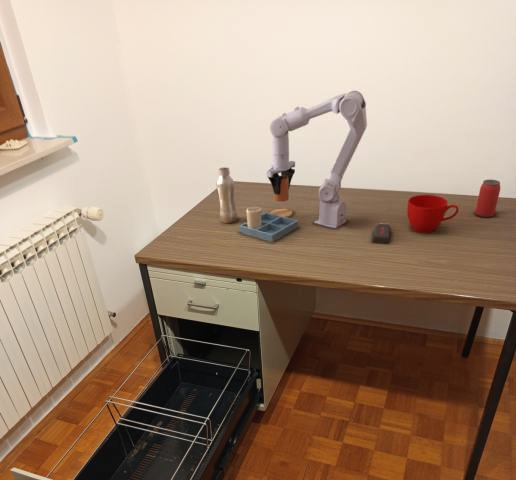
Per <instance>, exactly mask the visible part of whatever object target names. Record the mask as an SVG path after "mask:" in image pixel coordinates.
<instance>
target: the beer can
mask: <svg viewBox="0 0 516 480" xmlns="http://www.w3.org/2000/svg"><path fill="white" fill-rule="evenodd" d="M482 182H483V183H482V184H481V186H480V188H479V192H478V197H477V202H476V206H475V210H474V213H475V215H476V216H478V217H481V218H491V217H493V216H495V213H496V209H497V205H498V201H499V196H500V192H501V181H499V180H497V179H485V180H483V181H482Z"/></svg>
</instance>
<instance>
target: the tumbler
mask: <svg viewBox="0 0 516 480" xmlns="http://www.w3.org/2000/svg"><path fill="white" fill-rule="evenodd" d="M289 191H290V187H289V184H288V177H287V176H283V178H282V180H281V186H280V194H279V195H278V194H274V201H275V202H279V203H283V202H287V201H289V199H290V198H289V197H290V194H289V193H290V192H289Z"/></svg>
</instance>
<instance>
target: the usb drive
mask: <svg viewBox="0 0 516 480" xmlns="http://www.w3.org/2000/svg"><path fill="white" fill-rule="evenodd" d="M391 229H392V228H391V226H390V224H389V223H378V224H376V226H375V227H374V231H373V237H372V243H376V244H377V243H378V244H389V243H390V237H391Z"/></svg>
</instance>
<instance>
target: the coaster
mask: <svg viewBox="0 0 516 480" xmlns="http://www.w3.org/2000/svg"><path fill="white" fill-rule="evenodd" d="M269 213H270V214H274V215H278V216H282V217H286V218H289V217H290V216H292V215H293V214H294V213H293V211H292V210H291V209H288V208H276V209H272V210H271V211H269Z"/></svg>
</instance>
